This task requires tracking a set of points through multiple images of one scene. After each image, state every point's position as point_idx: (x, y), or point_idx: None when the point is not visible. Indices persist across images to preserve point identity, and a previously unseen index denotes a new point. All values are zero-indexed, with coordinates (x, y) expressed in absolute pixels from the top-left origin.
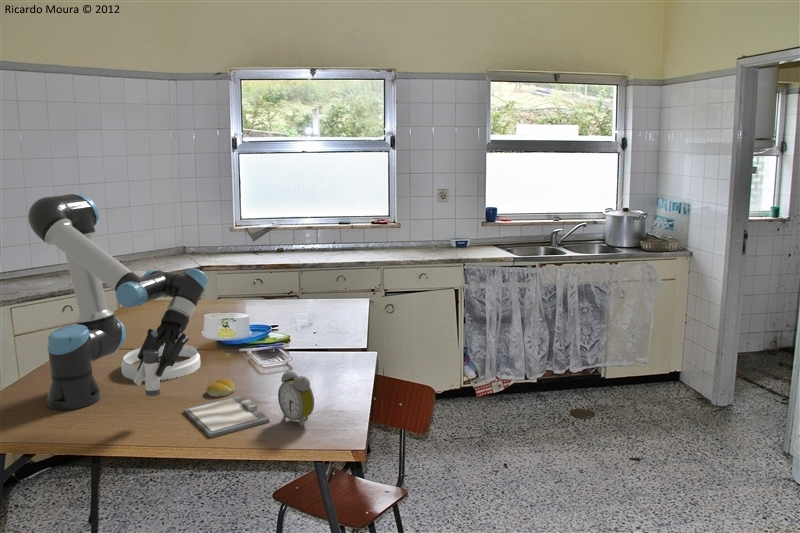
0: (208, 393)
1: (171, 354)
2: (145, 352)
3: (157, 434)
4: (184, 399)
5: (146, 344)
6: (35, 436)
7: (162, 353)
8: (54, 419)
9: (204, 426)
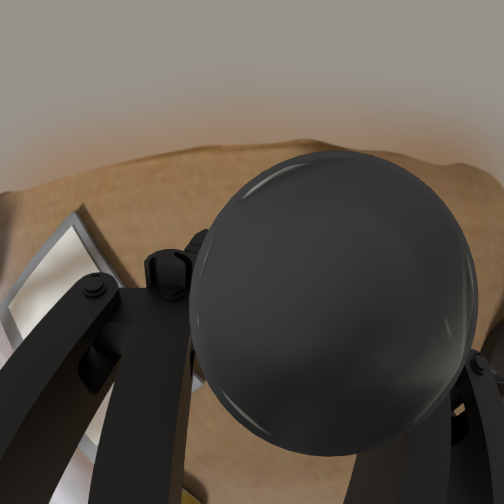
0: (185, 491)
1: (38, 348)
2: (421, 214)
3: (215, 211)
4: (249, 466)
5: (494, 497)
6: (475, 187)
7: (175, 407)
8: (497, 270)
9: (93, 254)
